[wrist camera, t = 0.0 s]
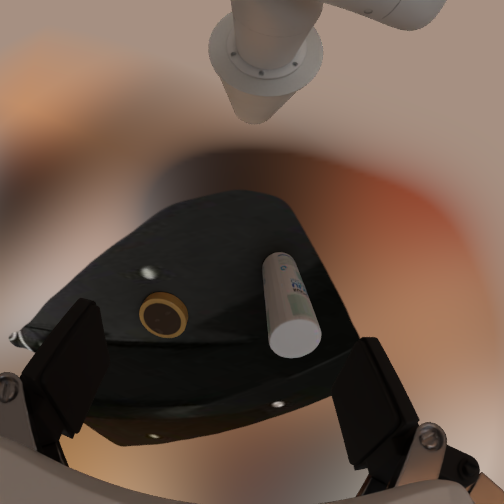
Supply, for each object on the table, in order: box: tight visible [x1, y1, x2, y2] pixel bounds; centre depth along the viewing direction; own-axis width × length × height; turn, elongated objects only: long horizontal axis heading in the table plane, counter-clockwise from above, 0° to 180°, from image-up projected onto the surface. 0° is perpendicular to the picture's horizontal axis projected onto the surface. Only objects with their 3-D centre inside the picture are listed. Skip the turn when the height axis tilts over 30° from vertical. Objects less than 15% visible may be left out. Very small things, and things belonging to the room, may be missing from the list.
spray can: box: [262, 252, 321, 358], centre depth 41 cm, size 6×6×20 cm
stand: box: [139, 292, 188, 338], centre depth 52 cm, size 10×10×3 cm
